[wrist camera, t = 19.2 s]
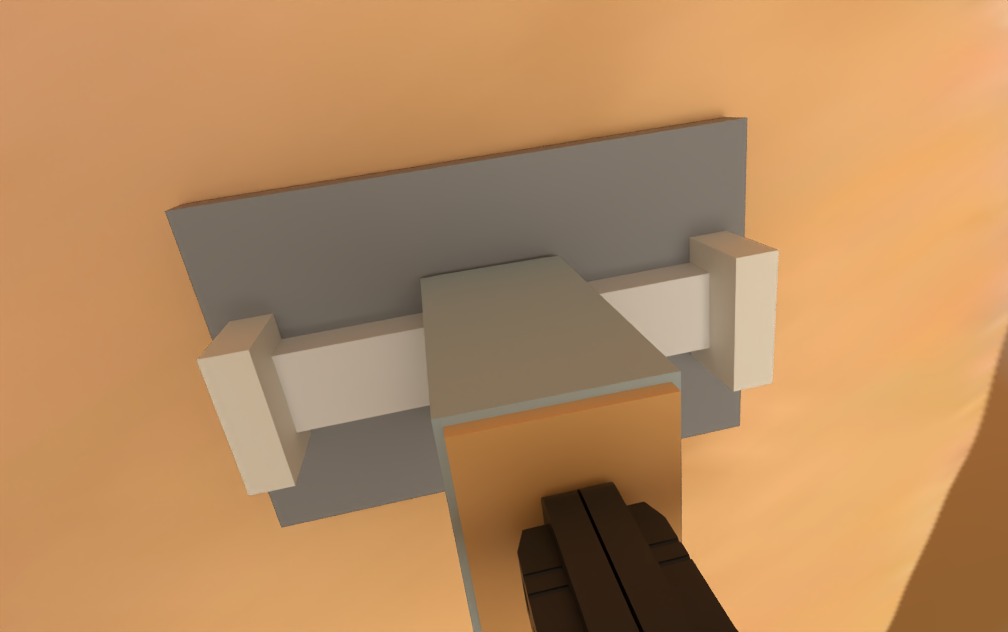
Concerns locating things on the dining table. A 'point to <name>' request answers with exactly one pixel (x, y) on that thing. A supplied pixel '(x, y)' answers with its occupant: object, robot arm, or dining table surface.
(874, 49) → the dining table surface
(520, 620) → the plate
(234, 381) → the mounting board
